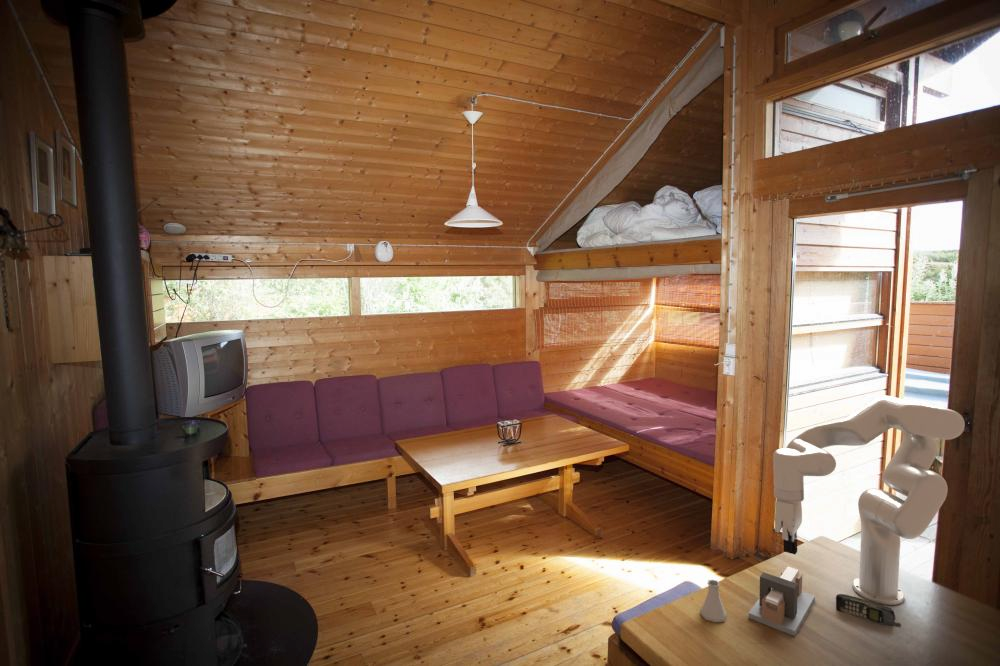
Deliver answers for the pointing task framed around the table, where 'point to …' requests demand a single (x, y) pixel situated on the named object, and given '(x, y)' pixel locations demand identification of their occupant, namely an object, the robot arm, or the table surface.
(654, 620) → the table surface
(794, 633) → the pipe stand
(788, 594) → the collar
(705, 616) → the flask
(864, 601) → the mobile phone
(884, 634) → the table surface
